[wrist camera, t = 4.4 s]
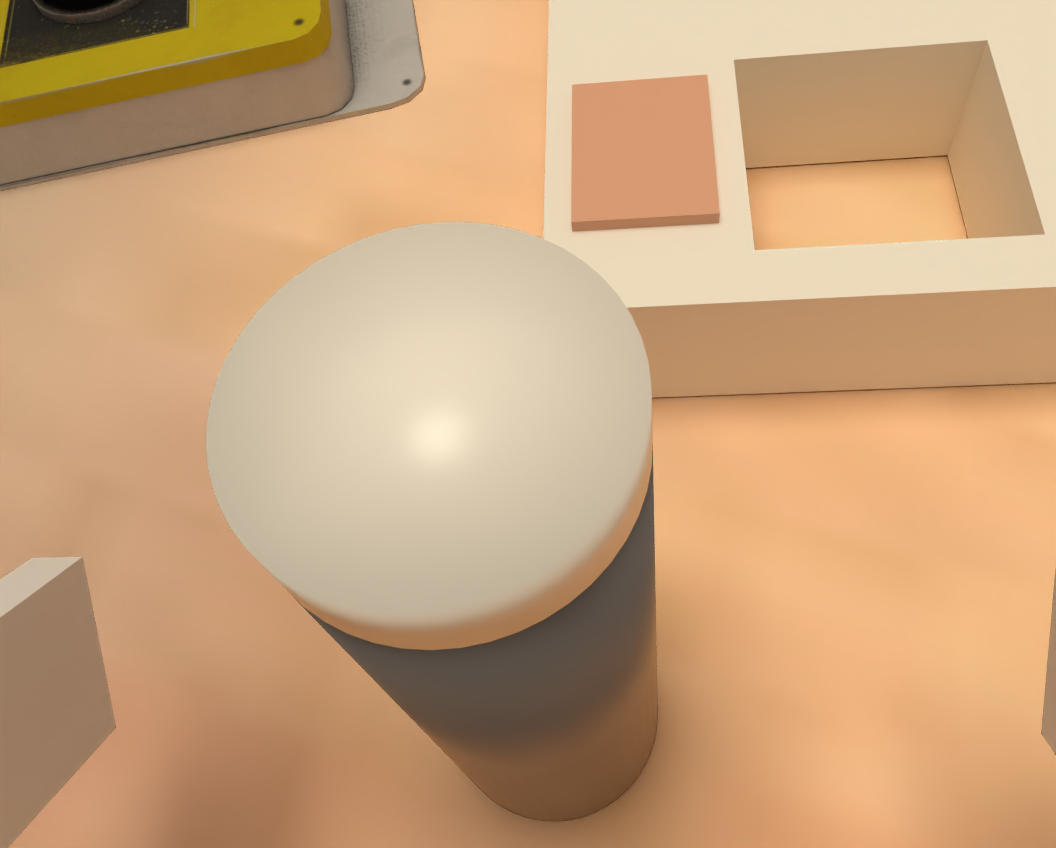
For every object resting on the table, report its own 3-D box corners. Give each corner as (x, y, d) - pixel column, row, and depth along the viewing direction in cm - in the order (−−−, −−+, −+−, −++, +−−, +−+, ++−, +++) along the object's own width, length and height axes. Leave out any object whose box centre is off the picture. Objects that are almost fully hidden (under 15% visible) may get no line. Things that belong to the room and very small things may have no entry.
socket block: (558, 401, 22) (540, 302, 19) (563, -46, 30) (551, -170, 27) (1113, 379, 21) (1197, 270, 18) (969, -83, 29) (1009, -218, 26)
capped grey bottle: (446, 819, 18) (165, 617, 8) (459, 613, 20) (245, 234, 10) (661, 822, 18) (660, 610, 8) (654, 610, 20) (644, 210, 9)
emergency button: (-119, -108, 30) (368, -215, 29) (-29, 16, 33) (401, -78, 33) (-181, 104, 25) (397, -20, 25) (-69, 220, 29) (433, 113, 28)
